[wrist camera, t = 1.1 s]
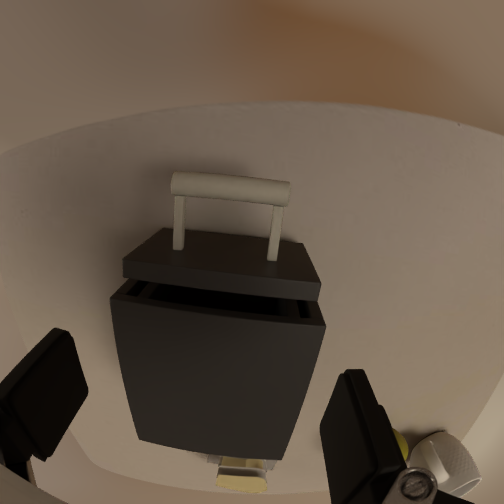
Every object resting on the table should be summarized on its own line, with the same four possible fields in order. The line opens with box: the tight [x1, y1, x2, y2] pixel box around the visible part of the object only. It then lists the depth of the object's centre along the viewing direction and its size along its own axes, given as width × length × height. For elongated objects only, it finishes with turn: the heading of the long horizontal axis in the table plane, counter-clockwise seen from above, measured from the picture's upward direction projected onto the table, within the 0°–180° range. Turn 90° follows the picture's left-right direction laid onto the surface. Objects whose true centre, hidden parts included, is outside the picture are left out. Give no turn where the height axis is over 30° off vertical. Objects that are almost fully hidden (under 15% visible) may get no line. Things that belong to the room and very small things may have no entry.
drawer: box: [122, 171, 321, 318], centre depth 21 cm, size 18×11×8 cm, turn 174°
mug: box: [409, 432, 482, 498], centre depth 27 cm, size 15×11×13 cm
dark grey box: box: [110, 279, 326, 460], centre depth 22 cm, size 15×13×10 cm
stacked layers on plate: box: [208, 454, 277, 493], centre depth 31 cm, size 10×9×6 cm
